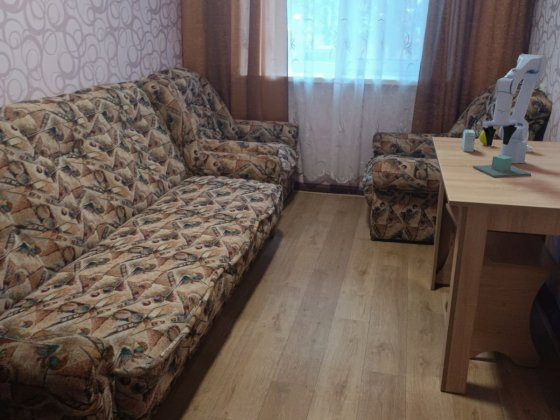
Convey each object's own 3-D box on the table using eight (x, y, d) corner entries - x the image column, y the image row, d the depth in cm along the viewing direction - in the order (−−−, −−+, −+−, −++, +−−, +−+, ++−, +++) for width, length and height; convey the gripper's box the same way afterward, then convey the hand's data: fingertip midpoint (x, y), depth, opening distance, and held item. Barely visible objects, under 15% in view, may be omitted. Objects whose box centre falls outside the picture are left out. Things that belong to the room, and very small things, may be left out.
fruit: (477, 145, 253) (480, 128, 250) (478, 143, 258) (481, 126, 255) (490, 146, 251) (492, 129, 248) (491, 144, 256) (493, 127, 253)
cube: (499, 167, 213) (501, 154, 211) (510, 170, 209) (512, 157, 207) (491, 168, 210) (493, 156, 209) (501, 171, 206) (503, 159, 205)
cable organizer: (532, 151, 243) (536, 130, 240) (510, 151, 243) (514, 129, 240) (527, 149, 248) (531, 127, 245) (505, 148, 248) (509, 127, 245)
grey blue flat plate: (508, 166, 218) (508, 164, 217) (530, 175, 205) (531, 173, 204) (472, 167, 214) (473, 165, 214) (493, 177, 201) (493, 175, 201)
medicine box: (473, 152, 240) (476, 133, 237) (463, 151, 241) (465, 132, 238) (471, 148, 247) (473, 129, 244) (461, 147, 248) (463, 129, 245)
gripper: (511, 107, 212) (505, 141, 216) (480, 109, 208) (475, 143, 212) (523, 110, 205) (517, 145, 210) (491, 112, 201) (486, 147, 206)
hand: (497, 144), depth 211 cm, fingers open, 7 cm apart
